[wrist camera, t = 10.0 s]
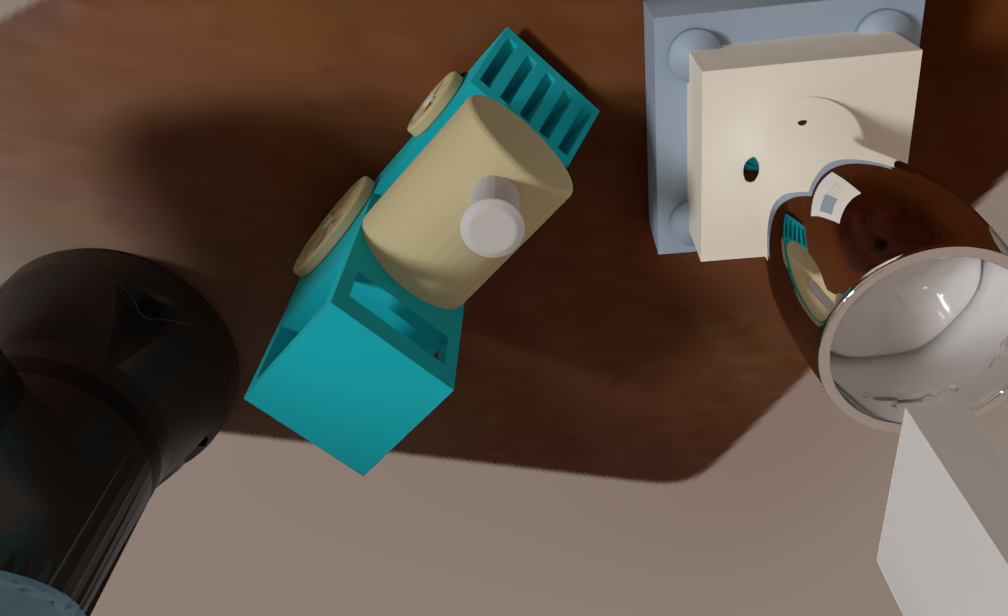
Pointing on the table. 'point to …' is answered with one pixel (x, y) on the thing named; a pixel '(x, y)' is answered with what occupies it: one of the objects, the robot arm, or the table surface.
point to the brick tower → (761, 97)
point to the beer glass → (874, 266)
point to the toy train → (419, 255)
